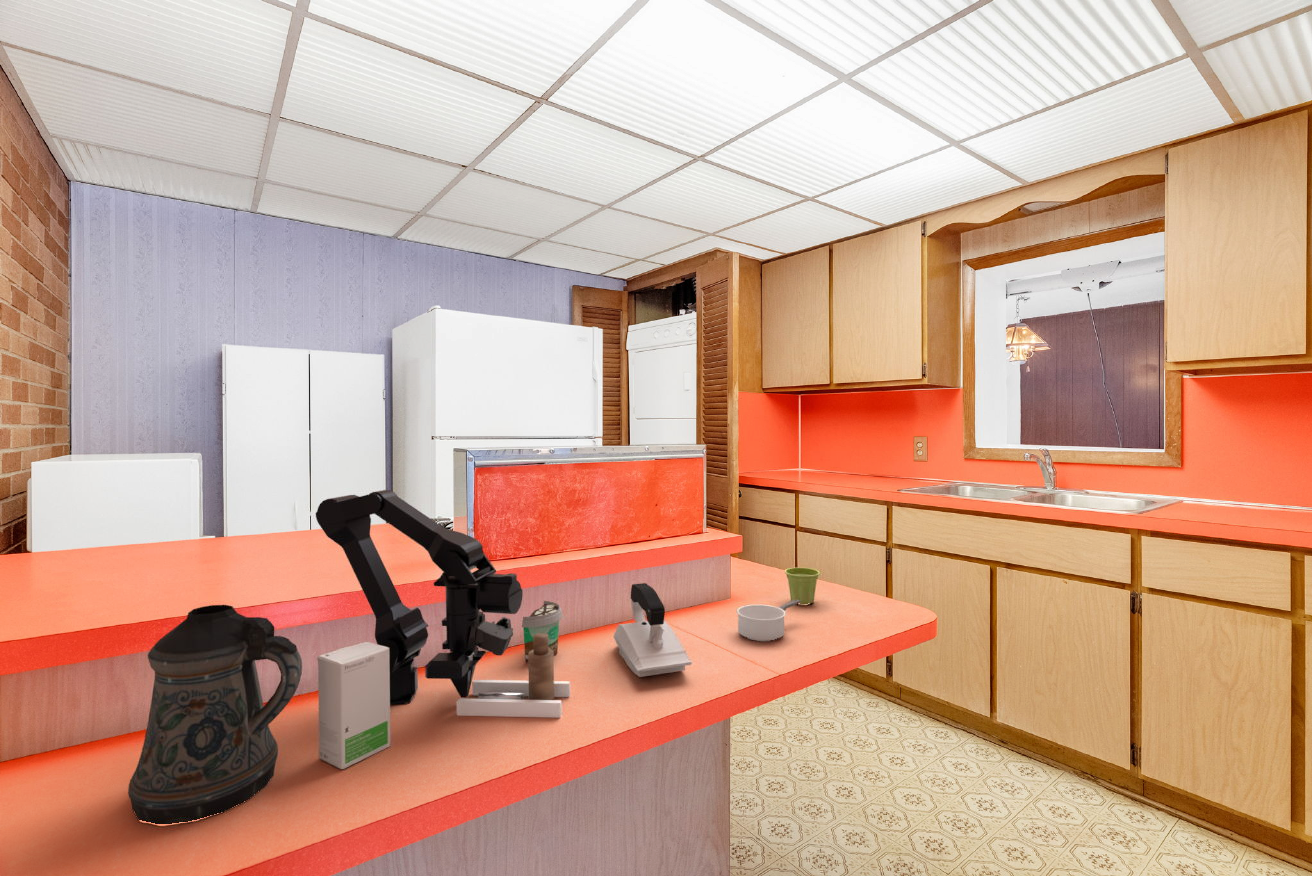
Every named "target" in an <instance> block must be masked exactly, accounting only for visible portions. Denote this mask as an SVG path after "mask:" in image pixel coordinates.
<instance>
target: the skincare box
mask: <svg viewBox="0 0 1312 876" xmlns="http://www.w3.org/2000/svg"><path fill="white" fill-rule="evenodd" d="M316 659H317V668H318V669H317V671H318V672H317V673H318V675H317V676H318V686H317V687H318V758H319V759H320V760H322V761H324V762H326V763H328V764H329V765H331V766H334V767H335V768H338V769H340V770H344V769H347V768H348V767H350V766H352V765H355V764H357V763H359V762H360V761H361V762H362V760H365V759H367V758H369V757H371V756H373V755H375V754H377V753H379V752H381V751H384V750H385V749H387V748H389V747H390V746H391V744H392V743H391V704H390V667H389V648H388V647H385V646H381V645H377V643H373V642H370V641H364V642H360V643H357V644H354V645H350V646H345V647H341V648H338V649H337V650H334V651H330V652H327V653H326V652H325V653H323V654H321V655H318V656H317V658H316Z"/></svg>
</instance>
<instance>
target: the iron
mask: <svg viewBox="0 0 1312 876" xmlns="http://www.w3.org/2000/svg"><path fill="white" fill-rule="evenodd" d="M630 600H631V601H630V602H631V603H630V604H631V611H632V616H633V618H634V622H630V623H622V624H621V623H619V624H617V626H616V629H615V632H614V633H613V638H614V641H615V643H616V644H617V647H618V649H619V651H618V652H619V653H618V654H619V655H620V656H621V658H622V659H623V660H624V661H625V663H626V665H627V667H628V668H629V670H630V671H631V672H632V673H634V675H636V676H638V677H639V678H641V677H649V676H655V675H662V674H669V673H674V672H675V673H677V672H683V671H686V666H691V665H692V663H693V662H692V661H691V660H690V658H689V656H688V653H687V650H686V649H684V646H683V645H682V642H681V641H680V639H679V638H678V637H677V634H676V633H675V632H674V630H673V629H672V627H671V626H670V624H669V623H668V622H667V621H666V620H665V615H666V611H665V609H666V607H665V605H664V603H663V602H662V600H661V598H660V597H659V595H658V593H657V592H656V590H655V589H654V588H653V587H652V586H650V585H649V584H648V583H646V582H643V583H633V584H632V585H631V588H630ZM644 612H645V615H644ZM645 616H646V617H645Z"/></svg>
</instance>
